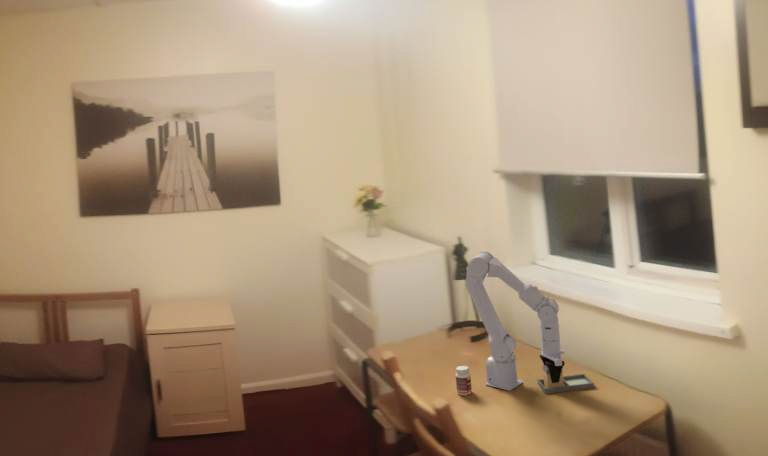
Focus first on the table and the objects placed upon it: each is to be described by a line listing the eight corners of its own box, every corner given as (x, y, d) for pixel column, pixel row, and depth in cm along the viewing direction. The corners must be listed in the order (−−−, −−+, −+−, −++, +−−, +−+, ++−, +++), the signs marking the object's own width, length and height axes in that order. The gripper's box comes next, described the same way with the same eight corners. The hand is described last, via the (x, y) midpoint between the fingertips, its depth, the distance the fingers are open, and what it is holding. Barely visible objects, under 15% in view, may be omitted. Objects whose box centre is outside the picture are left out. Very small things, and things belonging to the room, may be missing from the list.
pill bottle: (471, 395, 205) (469, 370, 204) (456, 395, 206) (454, 371, 204) (472, 389, 209) (470, 364, 208) (457, 389, 210) (455, 365, 209)
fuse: (547, 390, 202) (546, 369, 201) (544, 385, 206) (542, 365, 205) (563, 388, 202) (562, 367, 201) (559, 384, 206) (558, 363, 205)
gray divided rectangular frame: (545, 393, 200) (544, 389, 200) (537, 383, 208) (537, 379, 208) (593, 387, 201) (593, 383, 200) (584, 378, 209) (584, 373, 208)
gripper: (570, 344, 195) (573, 386, 197) (555, 329, 209) (558, 369, 211) (547, 347, 194) (550, 389, 197) (534, 332, 209) (537, 372, 211)
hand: (553, 379), depth 204 cm, fingers closed on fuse, 4 cm apart
